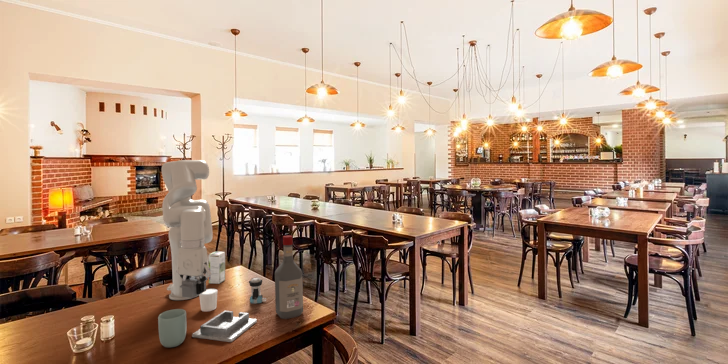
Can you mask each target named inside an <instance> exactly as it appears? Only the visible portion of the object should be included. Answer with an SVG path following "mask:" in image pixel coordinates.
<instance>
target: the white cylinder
mask: <svg viewBox="0 0 728 364" xmlns="http://www.w3.org/2000/svg"><path fill="white" fill-rule="evenodd" d="M198 296H199V297H198V298H199V304H200V311H202V312H211V311H214V310H216V309H217V306H218V305H217V303H218V289H216V288H206V291H205V292H203V293H201V294H199V295H198Z"/></svg>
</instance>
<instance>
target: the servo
mask: <svg viewBox="0 0 728 364" xmlns="http://www.w3.org/2000/svg"><path fill="white" fill-rule="evenodd" d="M200 278H201V276H200ZM207 281H209V277H208V278H207V279H206V281H204V292H205V291H206V289H207ZM197 283H198V282H197V277H195V276H193V277H191V278H189V279H187V280H185V281H183V282H182V285H181V286H180V288H182V297H188V298H191V299H193V298H197V297H198V296H199V295H198V294H197V287H196V285H197ZM202 293H203V292H202Z"/></svg>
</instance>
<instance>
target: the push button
mask: <svg viewBox="0 0 728 364" xmlns="http://www.w3.org/2000/svg"><path fill="white" fill-rule="evenodd" d="M248 284H249V286H250V287H251V294H250V297H249V303H250V304H261V303H262V302H266V301H267V298H266V297H265V298H264V297H263V295H262V293H261V291H262V290H261V286H262V285H263V279H261V277H253V278H252V277H251V279H250V280H249V282H248Z"/></svg>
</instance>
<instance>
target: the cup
mask: <svg viewBox="0 0 728 364" xmlns="http://www.w3.org/2000/svg"><path fill="white" fill-rule="evenodd" d="M157 319H158V320H157V324H158V328H157V329H158V337H159V342H160V344H161V345H162V346H163V347H164V348H175V347H178V346H180V345H181V344H182V343H184V341H185V339H186V336H187V330H188V329H187V320H188V319H187V311H186V310H185V309H183V308H175V309H170V310H166V311H163V312H161V313H160V314H159V315H158V317H157Z"/></svg>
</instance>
